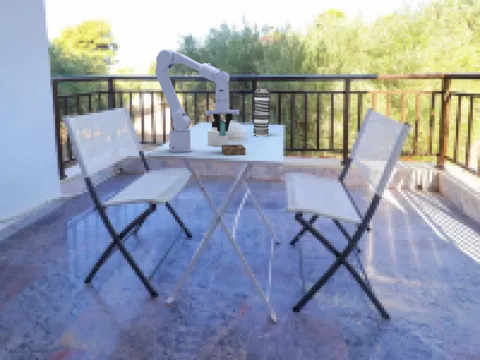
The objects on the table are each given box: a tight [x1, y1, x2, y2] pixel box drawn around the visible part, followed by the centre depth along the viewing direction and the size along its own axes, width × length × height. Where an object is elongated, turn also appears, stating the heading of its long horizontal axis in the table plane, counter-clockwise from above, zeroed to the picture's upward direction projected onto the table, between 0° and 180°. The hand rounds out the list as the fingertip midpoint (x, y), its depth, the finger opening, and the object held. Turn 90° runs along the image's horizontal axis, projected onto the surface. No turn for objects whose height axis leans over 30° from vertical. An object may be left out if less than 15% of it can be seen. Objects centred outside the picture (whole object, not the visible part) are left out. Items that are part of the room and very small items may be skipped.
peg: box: [219, 121, 226, 136], centre depth 206 cm, size 3×3×6 cm
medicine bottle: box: [207, 119, 229, 147], centre depth 225 cm, size 7×7×12 cm
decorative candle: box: [252, 88, 271, 137], centre depth 255 cm, size 9×9×25 cm
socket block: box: [221, 143, 247, 156], centre depth 205 cm, size 9×9×3 cm
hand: (222, 131), depth 207 cm, fingers closed on peg, 3 cm apart
